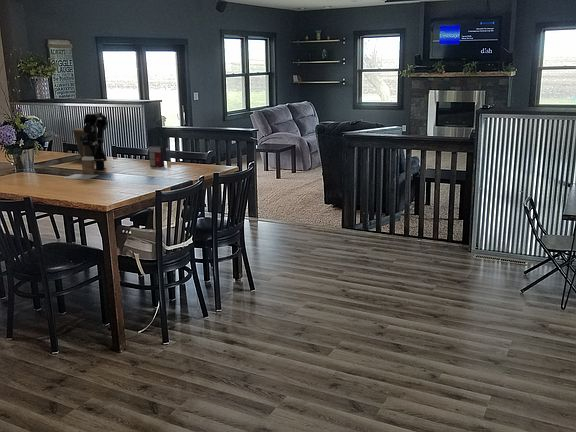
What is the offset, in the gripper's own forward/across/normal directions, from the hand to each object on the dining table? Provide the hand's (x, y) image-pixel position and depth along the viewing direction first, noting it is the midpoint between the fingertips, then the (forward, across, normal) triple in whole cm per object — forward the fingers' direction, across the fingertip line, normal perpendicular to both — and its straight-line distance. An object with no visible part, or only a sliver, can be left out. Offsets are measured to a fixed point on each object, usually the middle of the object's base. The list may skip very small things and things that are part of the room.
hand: (94, 154), depth 408 cm
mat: (+12, +20, 0) cm, 23 cm away
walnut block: (+12, +9, 0) cm, 15 cm away
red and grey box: (+13, -32, +32) cm, 47 cm away
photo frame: (+13, -54, -38) cm, 67 cm away
